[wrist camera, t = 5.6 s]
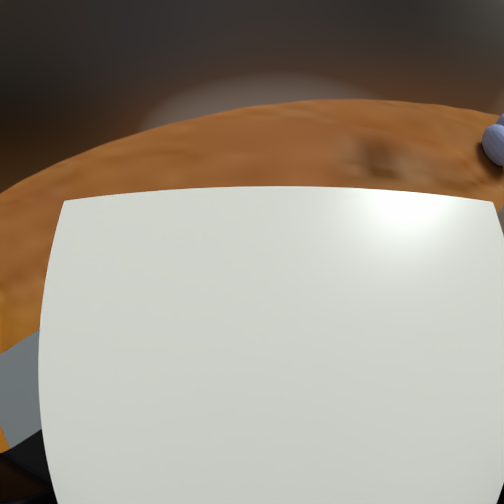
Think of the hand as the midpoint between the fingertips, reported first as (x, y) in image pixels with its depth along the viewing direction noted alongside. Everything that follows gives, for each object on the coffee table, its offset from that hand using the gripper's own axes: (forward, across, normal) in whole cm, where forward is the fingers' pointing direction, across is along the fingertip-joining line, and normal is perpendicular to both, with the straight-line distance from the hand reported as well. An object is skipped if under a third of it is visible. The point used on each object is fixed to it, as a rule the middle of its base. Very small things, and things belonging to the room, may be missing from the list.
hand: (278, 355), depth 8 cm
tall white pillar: (+4, 0, +6) cm, 7 cm away
